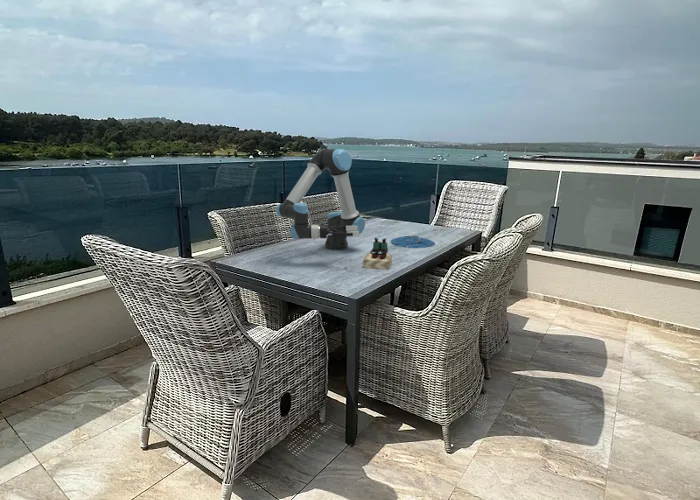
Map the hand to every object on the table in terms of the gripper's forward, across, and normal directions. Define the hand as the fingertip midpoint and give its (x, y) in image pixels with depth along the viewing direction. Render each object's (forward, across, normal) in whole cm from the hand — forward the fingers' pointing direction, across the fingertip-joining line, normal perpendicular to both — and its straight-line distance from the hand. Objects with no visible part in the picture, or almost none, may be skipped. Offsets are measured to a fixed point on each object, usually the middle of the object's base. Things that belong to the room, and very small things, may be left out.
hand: (358, 231), depth 207 cm
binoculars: (+12, +3, -15) cm, 19 cm away
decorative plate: (+41, -49, -22) cm, 67 cm away
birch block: (+11, +1, -20) cm, 23 cm away
